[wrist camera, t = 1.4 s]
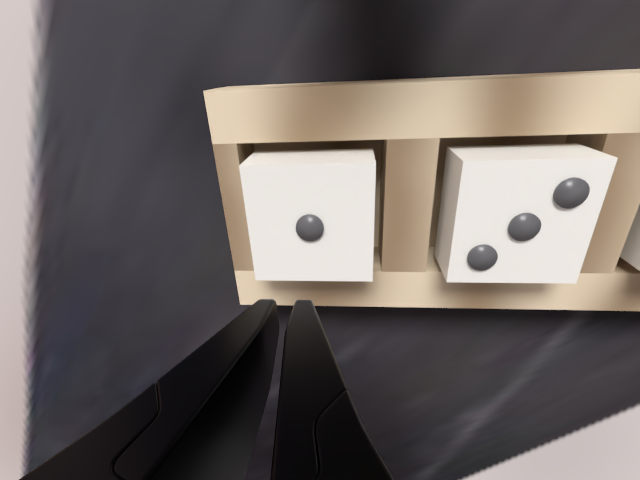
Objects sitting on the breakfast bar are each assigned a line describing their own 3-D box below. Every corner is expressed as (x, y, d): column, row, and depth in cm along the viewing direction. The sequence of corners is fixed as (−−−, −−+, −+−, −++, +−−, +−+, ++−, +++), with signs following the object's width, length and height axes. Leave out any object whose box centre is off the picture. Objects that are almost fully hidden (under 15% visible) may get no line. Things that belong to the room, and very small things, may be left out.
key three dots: (577, 143, 14) (620, 158, 12) (546, 254, 16) (578, 285, 14) (446, 146, 14) (464, 162, 12) (434, 254, 17) (447, 284, 14)
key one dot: (372, 148, 15) (376, 163, 12) (370, 254, 17) (372, 283, 15) (254, 151, 15) (237, 166, 13) (267, 253, 17) (254, 282, 15)
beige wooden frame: (820, 61, 14) (930, 61, 11) (707, 276, 18) (767, 313, 16) (227, 86, 16) (203, 90, 13) (255, 273, 21) (240, 304, 18)
